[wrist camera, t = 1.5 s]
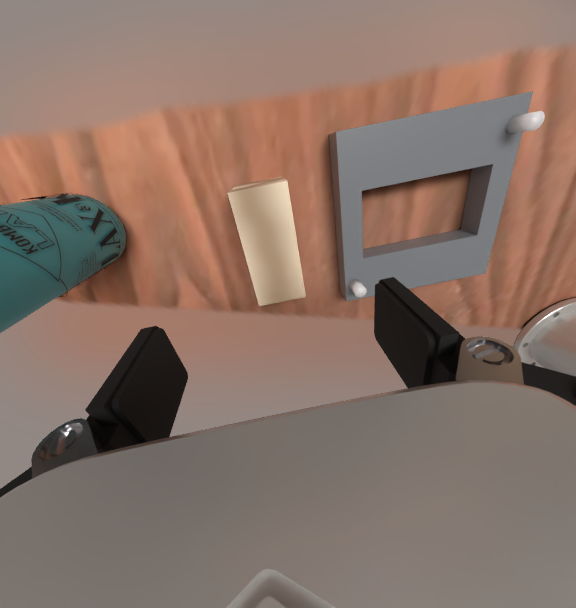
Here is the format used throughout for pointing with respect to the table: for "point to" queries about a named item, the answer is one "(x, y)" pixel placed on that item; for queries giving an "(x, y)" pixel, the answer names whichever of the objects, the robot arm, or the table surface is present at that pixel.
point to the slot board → (421, 164)
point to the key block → (268, 239)
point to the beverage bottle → (52, 250)
